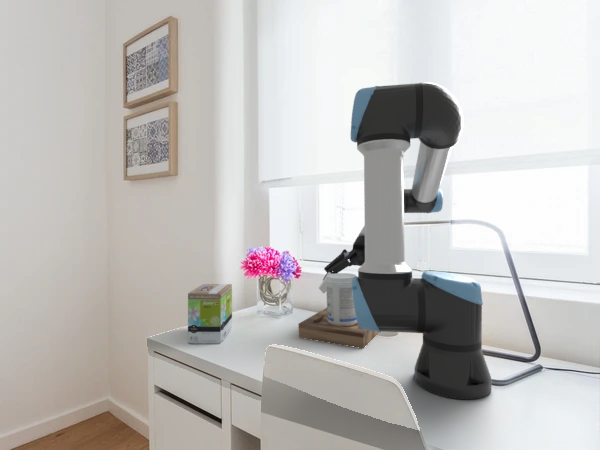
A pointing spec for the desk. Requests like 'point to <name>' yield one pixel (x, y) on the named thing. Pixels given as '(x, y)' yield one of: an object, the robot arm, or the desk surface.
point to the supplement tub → (340, 299)
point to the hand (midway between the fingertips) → (337, 294)
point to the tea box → (209, 313)
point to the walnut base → (334, 331)
